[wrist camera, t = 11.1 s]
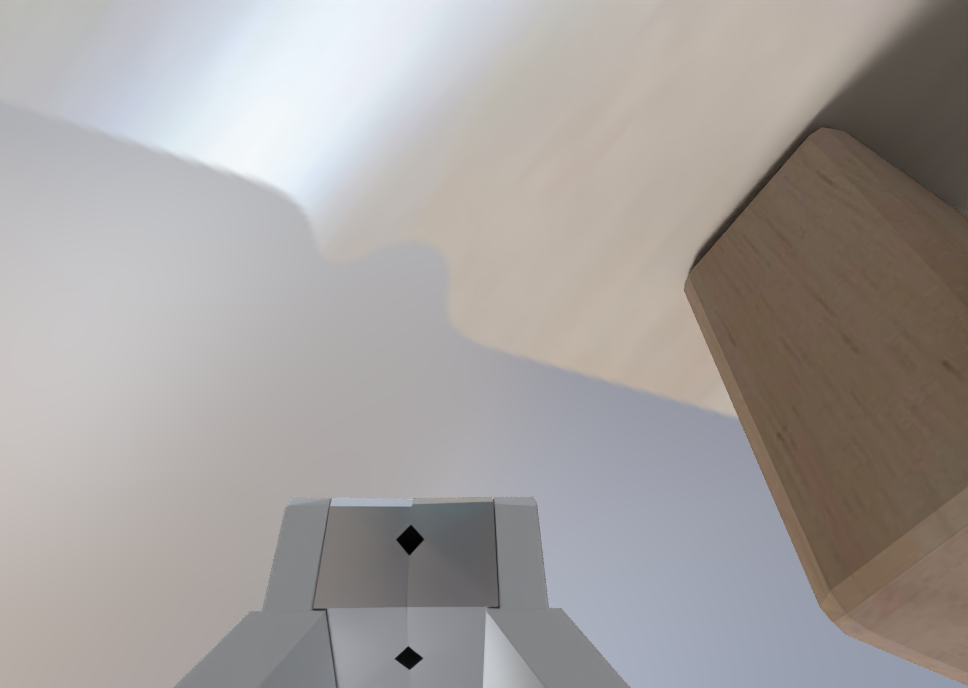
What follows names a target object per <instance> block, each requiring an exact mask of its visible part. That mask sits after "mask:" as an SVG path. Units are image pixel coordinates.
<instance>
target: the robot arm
mask: <svg viewBox="0 0 968 688" xmlns="http://www.w3.org/2000/svg"><path fill="white" fill-rule="evenodd" d="M541 544H542V543H541V535H540V526H539V517H538V508H537V502H536V501H535V499H534V498H533V497H494V499H492V497H471V498H470V497H469V498H467V497H466V498H413V499H376V498H291V499H290V500H289V502H288V504H287V506H286V507H285V511H284V515H283V520H282V524H281V529H280V534H279V537H278V542H277V546H276V551H275V555H274V559H273V564H272V568H271V573H270V578H269V582H268V586H267V590H266V595H265V599H264V604H263V609H262V611H249V612H248V613H247V614H246V615H245V616H244V617H243V618H242V619H241V620H240V621H239V622H238V623H237V624H236V625H235V626H234V627H233V628H232V629H231V630H230V631H229V632H228V633H227V634H226V635H225V636H224V637H223V638H222V639H221V640H220V641H219V642H218V643H217V644H216V645H215V646H214V647H213V648H212V649H211V650H210V651H209V652H208V653H207V654H206V655H205V656H204V657H203V658H202V659H201V660H200V661H199V662H198V663H197V664H196V665H195V666H194V667H193V668H192V669H191V670H190V671H189V672H188V673H187V674H186V675H185V676H184V677H183V678H182V679H181V680H180V682H178V684H176V685H175V686H174V687H173V688H630V687H629V686H628V684H627V683H626V682H625V681H624V680H623V679H622V678H621V677H620V675H619V674H618V673H617V672H616V671H615V670H614V668H612V666H611V665H610V664H609V663H608V661H607V660H606V659H605V658H604V657H603V656H602V655H601V653H600V652H599V651H598V650H597V649H596V648H595V647H594V645H593V644H592V643H591V642H590V641H589V640H588V638H587V637H586V636H585V635H584V634H583V633H582V632H581V630H580V629H579V628H578V627H577V626H576V625H575V623H574V622H573V621H572V620H571V619H570V618H569V617H568V615H567V614H566V613H565V612H564V611H563V610H562V609H561V608H549V606H548V597H547V588H546V578H545V570H544V562H543V552H542V545H541Z"/></svg>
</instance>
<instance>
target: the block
mask: <svg viewBox="0 0 968 688" xmlns="http://www.w3.org/2000/svg"><path fill="white" fill-rule="evenodd" d="M684 292H685V294H686V296H687V299H688V301H689V303H690V306H691V308H692V310H693V313H694V315H695V317H696V320H697V322H698V324H699V327H700V329H701V331H702V333H703V336H704V338H705V340H706V343H707V345H708V347H709V350H710V352H711V354H712V357H713V359H714V361H715V364H716V366H717V368H718V371H719V373H720V375H721V378H722V380H723V382H724V385H725V387H726V389H727V392H728V394H729V396H730V399H731V401H732V403H733V406H734V408H735V410H736V413H737V415H738V417H739V420H740V422H741V424H742V427H743V429H744V431H745V433H746V436H747V438H748V440H749V443H750V445H751V448H752V450H753V452H754V455H755V457H756V459H757V462H758V464H759V466H760V469H761V471H762V473H763V475H764V478H765V480H766V483H767V485H768V487H769V489H770V492H771V494H772V497H773V499H774V501H775V504H776V506H777V508H778V510H779V513H780V515H781V517H782V520H783V522H784V524H785V527H786V529H787V531H788V534H789V536H790V538H791V541H792V543H793V545H794V548H795V550H796V552H797V555H798V557H799V559H800V562H801V564H802V566H803V569H804V571H805V573H806V576H807V578H808V580H809V583H810V585H811V587H812V589H813V592H814V594H815V597H816V599H817V601H818V604H819V606H820V608H821V609H822V610H823V612H824V613H825V614H826V615H827V617H828V618H829V619H830V620H831V621H832V622H833V623H834V624H835V625H836V626H837V627H838V628H839V629H840V630H841V631H843V632H844V633H845V634H846V635H848V636H851V637H853V638H856V639H858V640H860V641H863V642H865V643H868V644H870V645H872V646H874V647H877V648H879V649H882V650H884V651H886V652H889V653H891V654H894V655H896V656H899V657H901V658H903V659H906V660H908V661H910V662H913V663H915V664H918V665H920V666H922V667H925V668H927V669H929V670H932V671H934V672H937V673H939V674H942V675H944V676H946V677H949V678H951V679H953V680H956V681H958V682H961V683H963V684H965V685H968V218H967V217H966V216H964V215H963V214H961V213H960V212H959V211H957V210H956V209H954V208H953V207H951V206H950V205H949V204H947V203H946V202H944V201H943V200H942V199H940V198H939V197H937V196H936V195H934V194H933V193H932V192H930V191H929V190H927V189H926V188H924V187H923V186H922V185H920V184H919V183H917V182H916V181H915V180H913V179H912V178H910V177H909V176H907V175H906V174H905V173H903V172H902V171H900V170H899V169H897V168H896V167H895V166H893V165H892V164H890V163H889V162H888V161H886V160H885V159H883V158H882V157H880V156H879V155H878V154H876V153H875V152H873V151H872V150H871V149H869V148H868V147H866V146H865V145H863V144H862V143H861V142H859V141H858V140H856V139H855V138H853V137H852V136H851V135H849V134H848V133H846V132H845V131H843V130H837V129H830V128H824V127H821V128H820V129H818V130H816V131H815V132H813V133H812V134H810V135H809V136H808V137H807V138H806V139H805V141H804V142H803V143H802V144H801V145H800V146H799V147H798V149H797V150H796V151H795V152H794V153H793V154H792V155H791V157H790V158H789V159H788V160H787V161H786V162H785V163H784V165H783V166H782V167H781V168H780V169H779V170H778V171H777V173H776V174H775V175H774V176H773V177H772V178H771V180H770V181H769V182H768V183H767V184H766V185H765V186H764V188H763V189H762V190H761V191H760V192H759V193H758V194H757V196H756V197H755V198H754V199H753V200H752V201H751V202H750V204H749V205H748V206H747V207H746V208H745V209H744V210H743V212H742V213H741V214H740V215H739V216H738V217H737V219H736V220H735V221H734V222H733V223H732V224H731V225H730V227H729V228H728V229H727V230H726V231H725V232H724V233H723V235H722V236H721V237H720V238H719V239H718V240H717V241H716V243H715V244H714V245H713V246H712V247H711V248H710V249H709V251H708V252H707V253H706V254H705V255H704V256H703V257H702V259H701V260H700V261H699V262H698V263H697V264H696V266H695V267H694V268H693V269H692V270H691V271H690V273H689V275H688V278H687V280H686V282H685V287H684Z"/></svg>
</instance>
